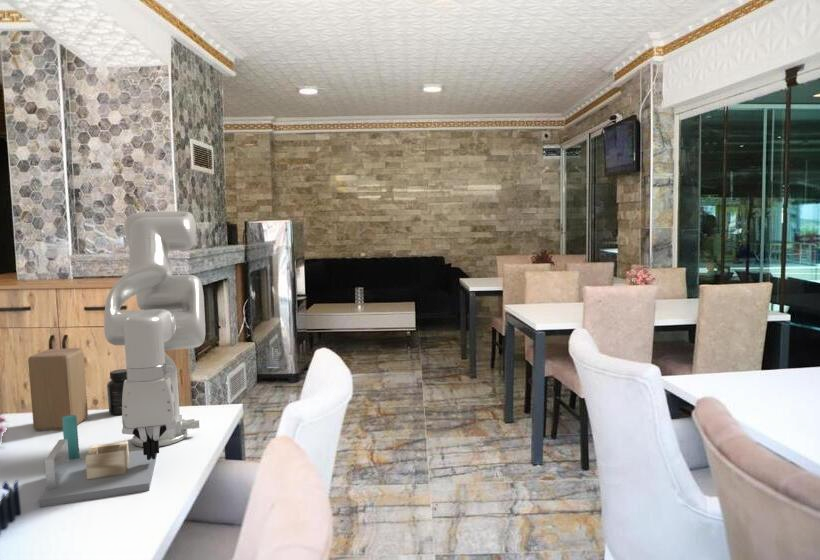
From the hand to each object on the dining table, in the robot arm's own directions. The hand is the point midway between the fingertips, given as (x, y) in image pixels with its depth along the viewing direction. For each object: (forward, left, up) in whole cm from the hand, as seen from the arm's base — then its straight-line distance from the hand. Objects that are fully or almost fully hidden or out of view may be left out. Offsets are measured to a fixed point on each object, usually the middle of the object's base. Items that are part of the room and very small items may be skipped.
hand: (151, 457), depth 126 cm
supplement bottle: (+12, -49, -3) cm, 51 cm away
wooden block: (+26, -43, -3) cm, 50 cm away
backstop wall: (+18, 0, -2) cm, 18 cm away
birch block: (+8, 0, -2) cm, 8 cm away
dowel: (+18, -14, -3) cm, 23 cm away
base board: (+9, 0, -3) cm, 10 cm away
